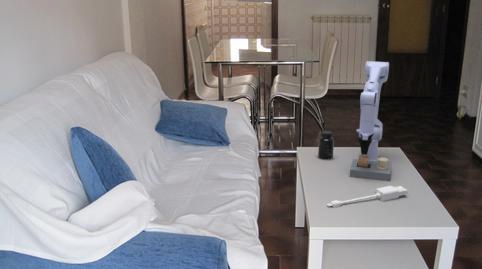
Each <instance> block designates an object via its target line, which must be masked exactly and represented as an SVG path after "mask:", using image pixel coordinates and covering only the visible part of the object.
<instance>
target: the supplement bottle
mask: <svg viewBox="0 0 482 269" xmlns="http://www.w3.org/2000/svg"><path fill="white" fill-rule="evenodd" d="M320 134H321V136H320V137H319V139H318V151H317V152H318V154H317V156H318V158H319V159H321V160H330V159H333V157H334V146H335V140H334V138H333V132H332V131H329V130H323V131H321V133H320Z"/></svg>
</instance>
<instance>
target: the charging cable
mask: <svg viewBox="0 0 482 269" xmlns="http://www.w3.org/2000/svg"><path fill="white" fill-rule="evenodd" d="M405 195H408V189H406V188H405V187H403V186H401V185H399V186H393V185H387V186H384V187H378V188H375V190H374V194H371V195H367V196H361V197H356V198H351V199H348V200H337V199H336V200H332V201H329V203H326V205H327V207H332V208H333V209H334V208H339V207H341V206H342V205H343V204H347V203H352V202H358V201H362V200H367V199H372V198H377V199H379V200H381V201H383V202H385V201H389V200H396V199H399V197H400V196H405Z"/></svg>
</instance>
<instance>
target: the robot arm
mask: <svg viewBox="0 0 482 269" xmlns="http://www.w3.org/2000/svg"><path fill="white" fill-rule="evenodd" d="M364 67H365V69H364V74H365V79H366V82H365V85H364V88H363V92H361V93H360V97H359V98H360V99H359V100H360V101H359V102H360V118H359V128H357V129H356V132H357V133H358V138H357V140H358V143H359V147H360V155H369V160H370V161H378V160H377V158H379V154H378V149H379V148H378V147H379V141H381V140H382V136H383V128H384V127H383V126H384V125H383V123H382V121H380V119H378V117H379V116H378V115H379V106H380V98H381V96H380V95H381V91H382V90H381V89H382V86H383V83H386V82H387V81H388V78H389V70H390V63H389V61H386V62H385V61H370V60H367V61H366V62H365V66H364Z"/></svg>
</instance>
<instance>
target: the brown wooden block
mask: <svg viewBox="0 0 482 269" xmlns="http://www.w3.org/2000/svg"><path fill="white" fill-rule="evenodd" d="M358 159H359V161H358V167H363V168H368V164H369V155H360V154H359V155H358Z"/></svg>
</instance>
